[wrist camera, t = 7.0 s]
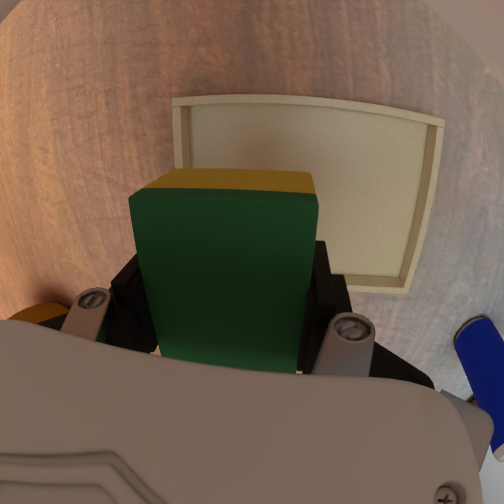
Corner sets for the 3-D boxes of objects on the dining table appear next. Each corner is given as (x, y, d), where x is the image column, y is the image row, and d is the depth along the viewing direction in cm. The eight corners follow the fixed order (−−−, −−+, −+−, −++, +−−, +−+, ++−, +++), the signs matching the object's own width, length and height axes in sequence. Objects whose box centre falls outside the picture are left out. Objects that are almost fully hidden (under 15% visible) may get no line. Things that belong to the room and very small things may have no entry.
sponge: (173, 168, 10) (126, 196, 7) (311, 172, 10) (319, 204, 7) (191, 331, 14) (169, 385, 11) (293, 341, 14) (290, 401, 11)
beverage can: (446, 352, 26) (484, 470, 13) (462, 316, 23) (518, 442, 10) (480, 346, 25) (522, 452, 12) (496, 312, 22) (554, 422, 9)
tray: (182, 97, 18) (171, 97, 16) (432, 116, 16) (445, 119, 14) (193, 265, 24) (185, 279, 22) (400, 279, 22) (408, 294, 20)
